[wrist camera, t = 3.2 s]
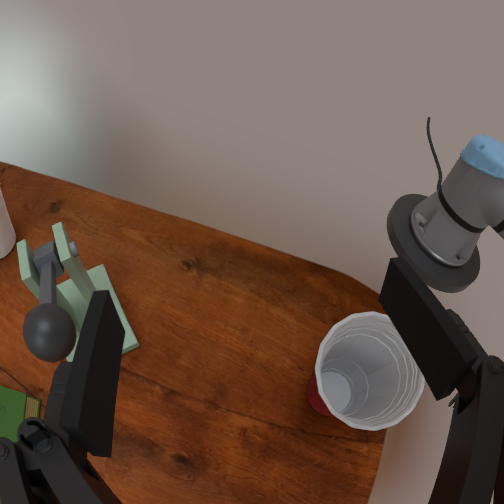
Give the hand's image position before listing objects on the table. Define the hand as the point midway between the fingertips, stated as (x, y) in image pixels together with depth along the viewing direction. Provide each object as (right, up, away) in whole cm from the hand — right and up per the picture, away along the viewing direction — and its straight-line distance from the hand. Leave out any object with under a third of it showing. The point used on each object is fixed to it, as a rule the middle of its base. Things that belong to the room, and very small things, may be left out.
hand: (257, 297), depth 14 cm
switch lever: (-15, -2, +6) cm, 17 cm away
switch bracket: (-20, -6, +20) cm, 29 cm away
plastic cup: (+9, -15, +19) cm, 26 cm away
